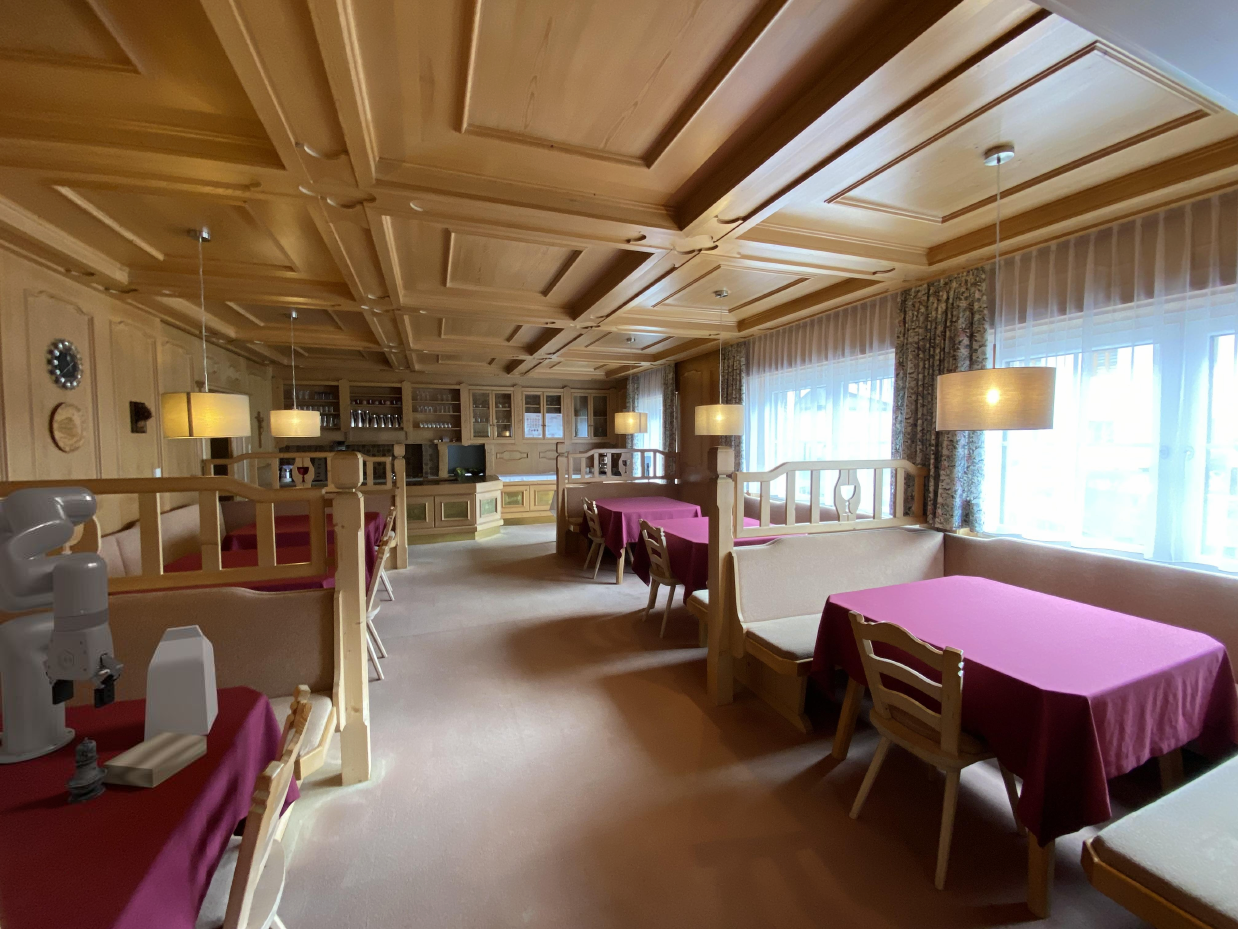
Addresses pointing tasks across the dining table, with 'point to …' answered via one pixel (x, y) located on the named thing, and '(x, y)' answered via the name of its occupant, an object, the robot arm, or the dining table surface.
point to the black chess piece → (86, 774)
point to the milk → (181, 684)
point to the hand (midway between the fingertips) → (83, 703)
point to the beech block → (155, 759)
